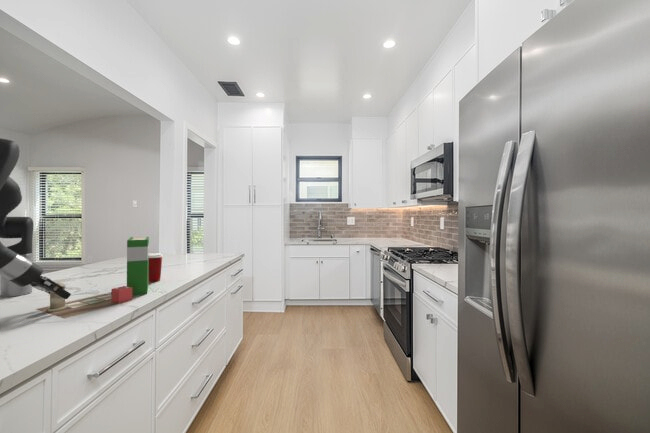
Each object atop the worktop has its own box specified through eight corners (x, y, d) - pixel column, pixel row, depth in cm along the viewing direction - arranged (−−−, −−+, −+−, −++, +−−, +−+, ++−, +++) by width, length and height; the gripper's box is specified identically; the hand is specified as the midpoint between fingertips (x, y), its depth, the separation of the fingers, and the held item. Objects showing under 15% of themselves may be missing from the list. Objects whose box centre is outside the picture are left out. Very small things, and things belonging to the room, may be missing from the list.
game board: (35, 310, 102) (35, 309, 102) (104, 294, 122) (104, 293, 122) (64, 320, 94) (64, 318, 94) (133, 301, 114) (133, 299, 114)
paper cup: (166, 279, 149) (166, 253, 149) (152, 283, 142) (153, 255, 142) (155, 278, 152) (155, 252, 152) (141, 281, 145) (141, 254, 144)
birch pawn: (43, 310, 101) (43, 283, 101) (63, 305, 106) (63, 280, 106) (51, 312, 99) (51, 285, 98) (71, 307, 104) (71, 281, 104)
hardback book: (130, 286, 134) (130, 237, 134) (148, 285, 138) (148, 236, 138) (126, 296, 119) (127, 240, 119) (147, 294, 123) (147, 239, 123)
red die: (111, 301, 112) (111, 288, 112) (124, 297, 117) (124, 285, 117) (118, 303, 110) (119, 290, 110) (132, 299, 115) (132, 287, 115)
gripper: (40, 262, 92) (81, 288, 103) (20, 259, 98) (61, 284, 109) (17, 281, 88) (63, 307, 98) (-3, 277, 93) (43, 301, 104)
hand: (62, 295), depth 103 cm, fingers open, 8 cm apart
